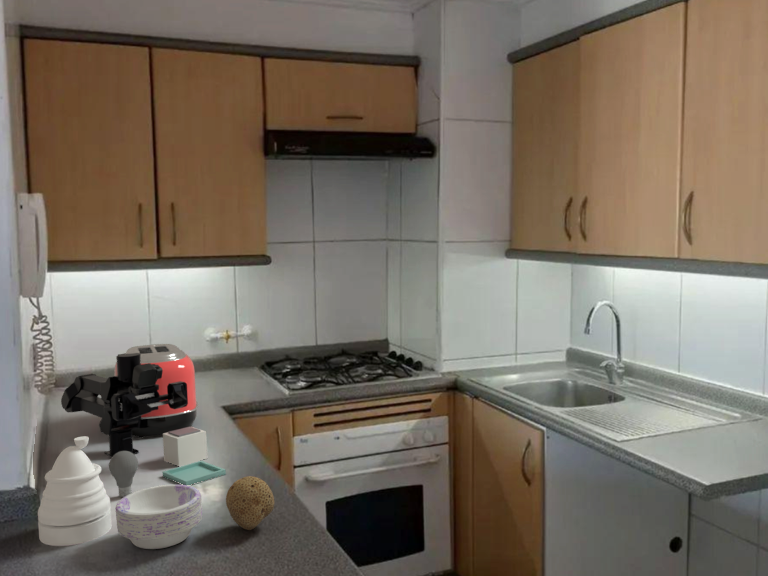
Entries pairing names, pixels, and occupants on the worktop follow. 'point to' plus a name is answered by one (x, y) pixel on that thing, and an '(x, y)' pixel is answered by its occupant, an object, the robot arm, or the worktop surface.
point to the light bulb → (123, 471)
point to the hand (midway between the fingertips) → (168, 405)
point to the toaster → (174, 370)
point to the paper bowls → (159, 515)
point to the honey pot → (73, 500)
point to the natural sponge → (249, 501)
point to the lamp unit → (185, 446)
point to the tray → (194, 473)
